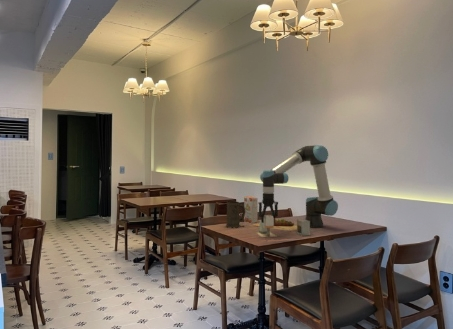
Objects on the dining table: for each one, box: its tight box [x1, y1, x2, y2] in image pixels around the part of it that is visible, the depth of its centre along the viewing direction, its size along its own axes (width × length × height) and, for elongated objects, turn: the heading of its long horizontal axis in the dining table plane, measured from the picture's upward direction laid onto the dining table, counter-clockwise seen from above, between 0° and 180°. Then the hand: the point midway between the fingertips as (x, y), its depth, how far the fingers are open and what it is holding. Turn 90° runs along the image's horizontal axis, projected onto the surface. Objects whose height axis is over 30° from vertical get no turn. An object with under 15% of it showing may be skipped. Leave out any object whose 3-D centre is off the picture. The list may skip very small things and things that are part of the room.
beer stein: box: [225, 200, 245, 228], centre depth 285 cm, size 15×11×20 cm
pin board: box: [254, 228, 278, 238], centre depth 248 cm, size 11×16×6 cm
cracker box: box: [243, 195, 259, 224], centre depth 307 cm, size 14×6×21 cm, turn 24°
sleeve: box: [264, 214, 275, 229], centre depth 244 cm, size 6×6×8 cm
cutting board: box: [252, 218, 297, 232], centre depth 282 cm, size 35×23×8 cm
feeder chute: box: [296, 218, 311, 237], centre depth 254 cm, size 6×8×10 cm
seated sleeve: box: [258, 220, 267, 234], centre depth 253 cm, size 6×6×8 cm
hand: (268, 227), depth 244 cm, fingers closed on sleeve, 6 cm apart
